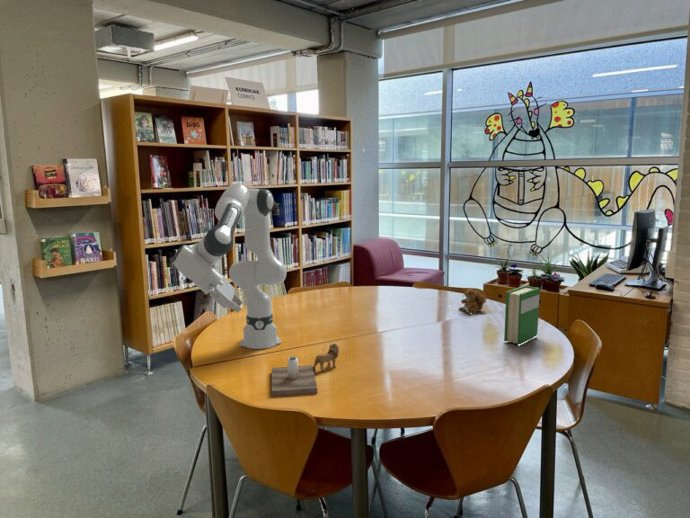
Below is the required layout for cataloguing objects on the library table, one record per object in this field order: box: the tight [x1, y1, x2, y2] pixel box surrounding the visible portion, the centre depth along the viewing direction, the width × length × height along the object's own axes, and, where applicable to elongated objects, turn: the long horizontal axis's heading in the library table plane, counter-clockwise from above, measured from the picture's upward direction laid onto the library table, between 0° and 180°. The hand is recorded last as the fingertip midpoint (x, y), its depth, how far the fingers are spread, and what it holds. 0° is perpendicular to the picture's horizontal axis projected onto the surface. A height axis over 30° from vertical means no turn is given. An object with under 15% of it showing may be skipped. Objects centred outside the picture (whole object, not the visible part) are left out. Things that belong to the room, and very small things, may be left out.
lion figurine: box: [312, 342, 340, 374], centre depth 201 cm, size 15×5×9 cm, turn 143°
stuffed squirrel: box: [458, 288, 488, 314], centre depth 283 cm, size 10×14×13 cm
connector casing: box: [286, 355, 299, 379], centre depth 187 cm, size 4×4×8 cm
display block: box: [271, 364, 318, 397], centre depth 188 cm, size 22×16×2 cm
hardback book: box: [503, 285, 541, 345], centre depth 232 cm, size 18×7×24 cm, turn 134°
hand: (240, 307), depth 183 cm, fingers open, 8 cm apart
